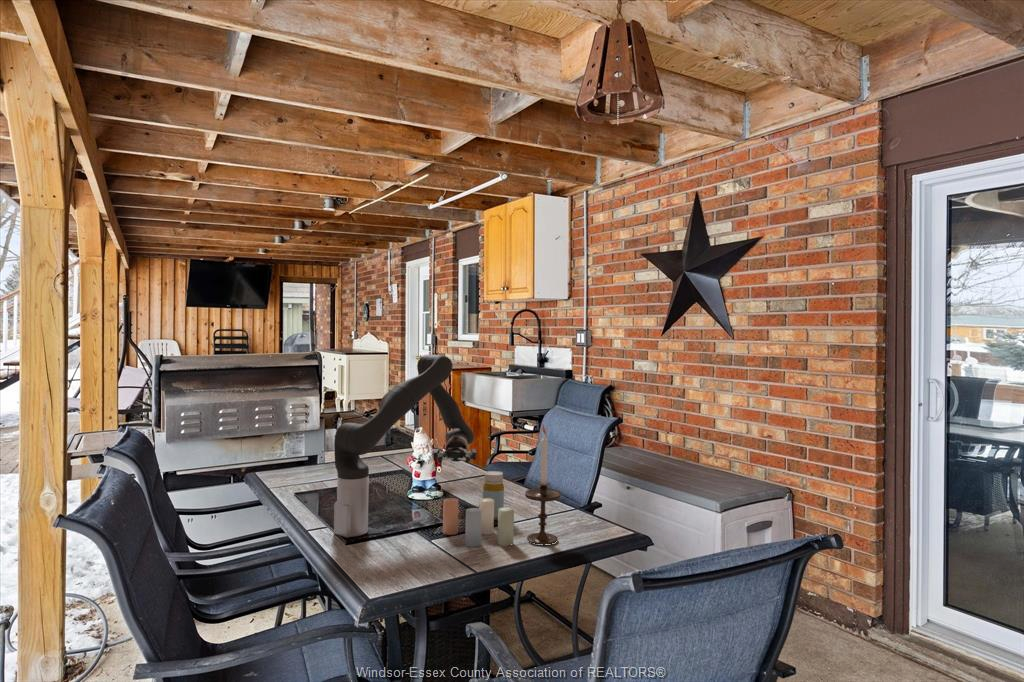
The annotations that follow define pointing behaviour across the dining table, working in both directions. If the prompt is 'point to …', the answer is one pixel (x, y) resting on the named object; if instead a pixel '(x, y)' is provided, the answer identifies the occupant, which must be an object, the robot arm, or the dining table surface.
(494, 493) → the bottle
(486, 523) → the cream canister
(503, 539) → the sage canister
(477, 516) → the dusty blue canister
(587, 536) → the dining table surface
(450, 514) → the terracotta canister
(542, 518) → the candlestick
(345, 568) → the dining table surface
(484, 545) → the dining table surface
